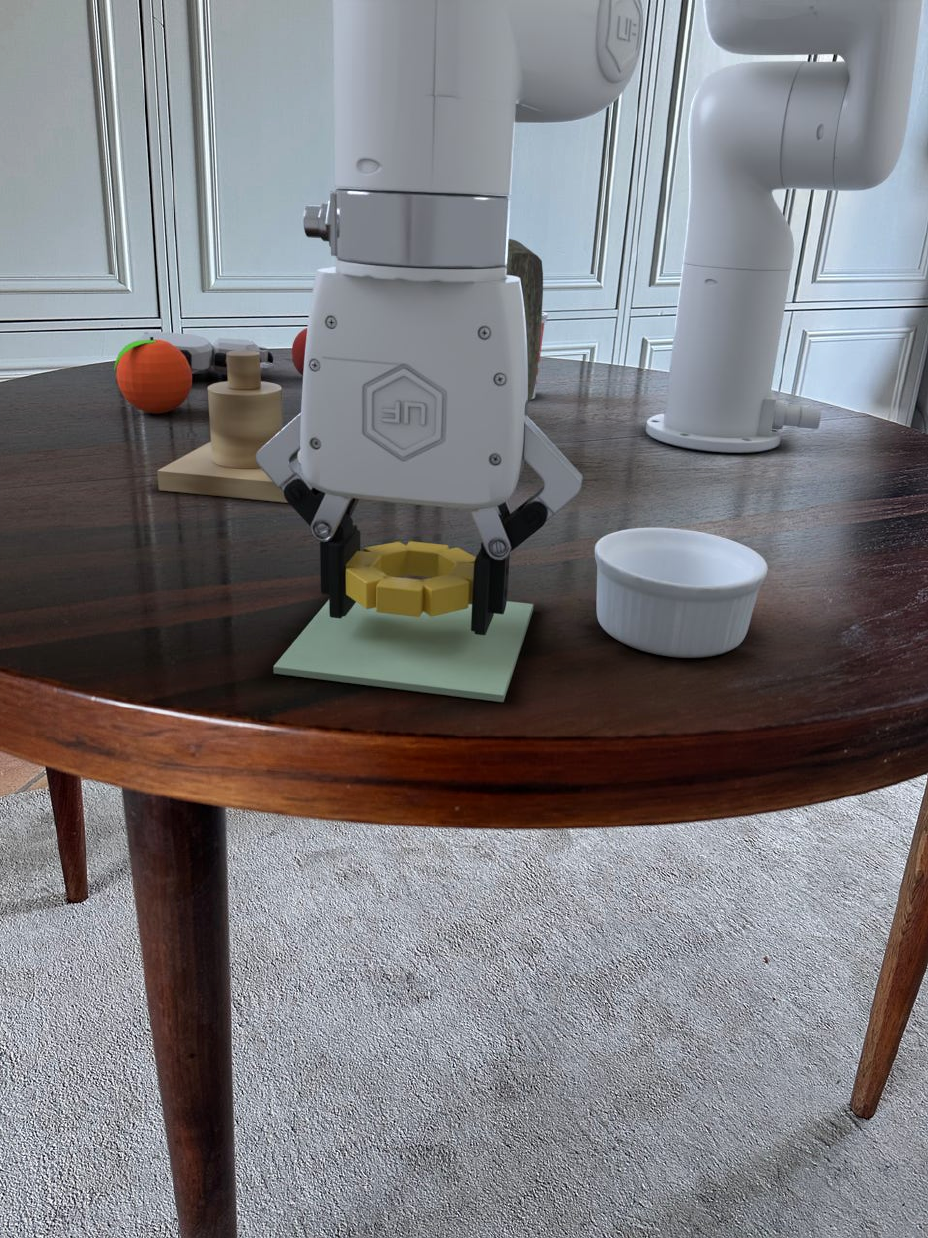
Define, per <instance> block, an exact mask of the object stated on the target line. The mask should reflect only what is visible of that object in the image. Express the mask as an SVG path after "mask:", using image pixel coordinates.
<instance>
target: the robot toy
mask: <svg viewBox="0 0 928 1238" xmlns="http://www.w3.org/2000/svg"><path fill="white" fill-rule="evenodd" d="M150 337H153V340H163V341H167V342H169V343H171V344H172V345H174V346H175V347H176V348H178V349H179V350H180V351H181V352H182V353H183V355H184V356H185V357H186V359H187V361H188V363H189V365H190V368H191V373H192V375H199V374H203V373H205V372H208V371H209V370H210V369H211V368H213V369H214V371H215V372H216V373H217V374H218V375H225V376H228V374H227V356H226V354H227V352H230V351H237V350H248V351H256V352H259V353H260V368H261V373H265V372H270V371H273V370H275V365H274V355H273V354H272V353H271V352H270V350H268V348H267V347H265V346H258V345H257V344H256V343H255V342H254V341H253V340H250V339H249V340H248V339H241V338H222V337H219V338H217V339H216V340H215V341H214V342H213V344H212V343H211V342H210V341H209V339H207V338H205V337H204V336H201V335H197V334H190V333H180V332H179V333H178V332H169V331H168V332H166V331H154V332H151V331H150V332H148V331H146V332H145V331H144V332H143V334H142V335H141V336H140V337H139V338H138V339H136V341H140V340H148V339H150Z"/></svg>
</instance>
